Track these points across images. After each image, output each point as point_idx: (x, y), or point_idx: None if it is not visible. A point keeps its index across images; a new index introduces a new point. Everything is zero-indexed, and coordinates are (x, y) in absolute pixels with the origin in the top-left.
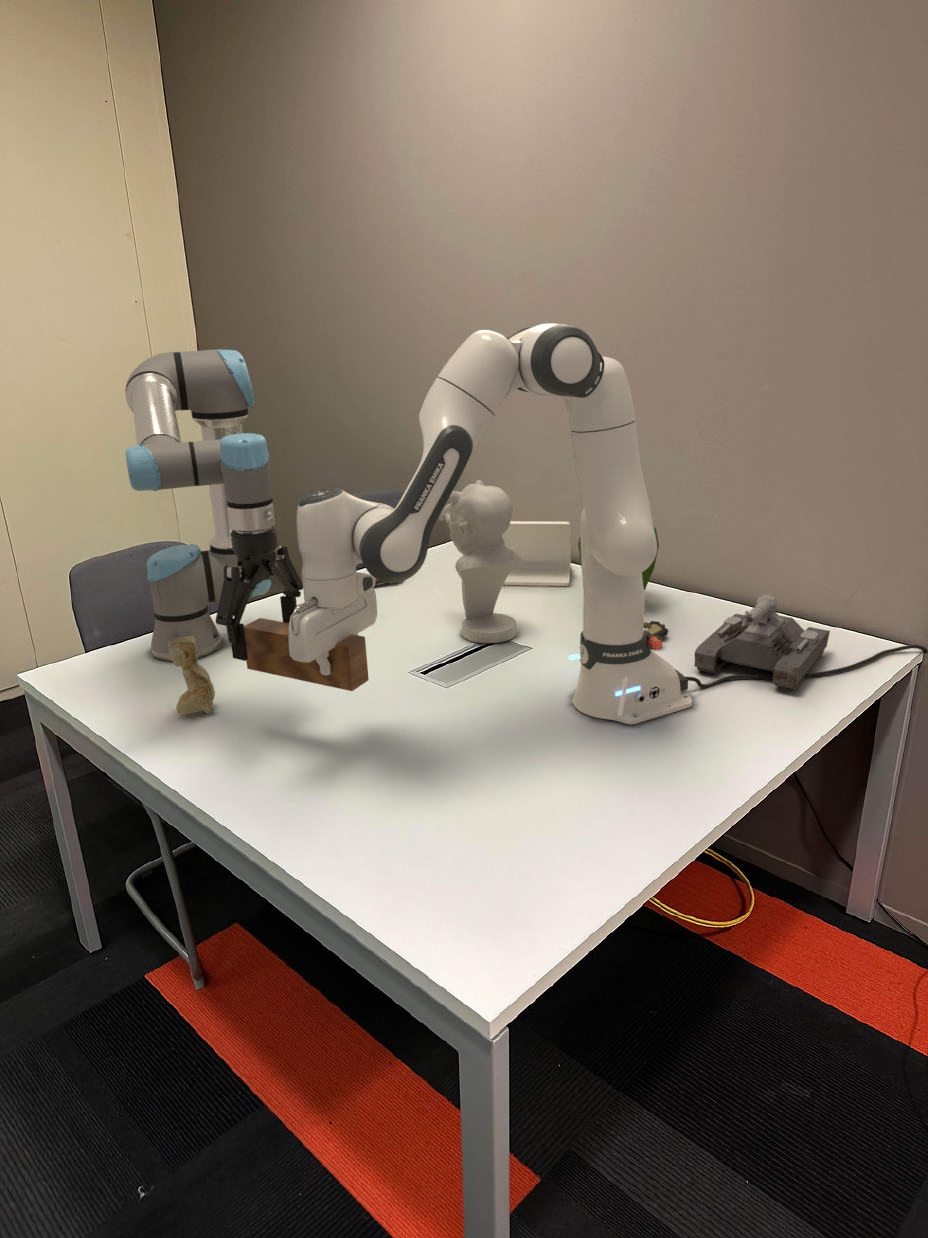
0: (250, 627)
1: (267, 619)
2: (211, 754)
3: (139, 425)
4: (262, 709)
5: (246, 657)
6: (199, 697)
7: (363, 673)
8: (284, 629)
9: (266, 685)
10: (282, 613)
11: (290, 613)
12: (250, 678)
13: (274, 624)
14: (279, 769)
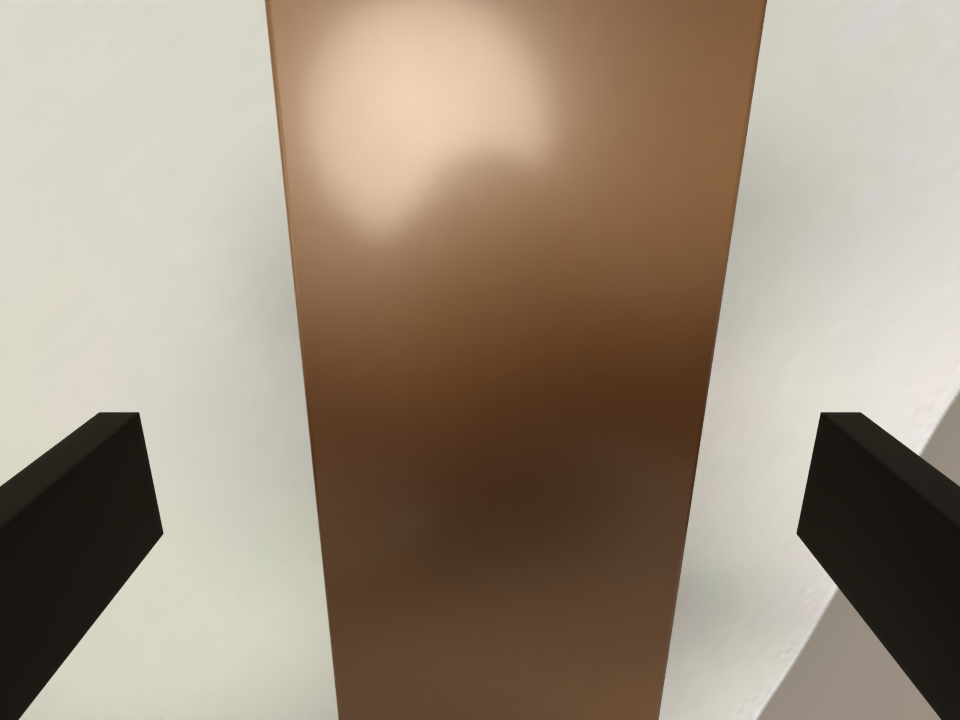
0: (638, 680)
1: (343, 667)
2: (748, 367)
3: None
4: None
5: (848, 423)
6: None
7: None
8: (545, 253)
9: (215, 540)
10: (59, 657)
11: (15, 568)
12: (206, 620)
13: (442, 501)
14: (774, 25)
